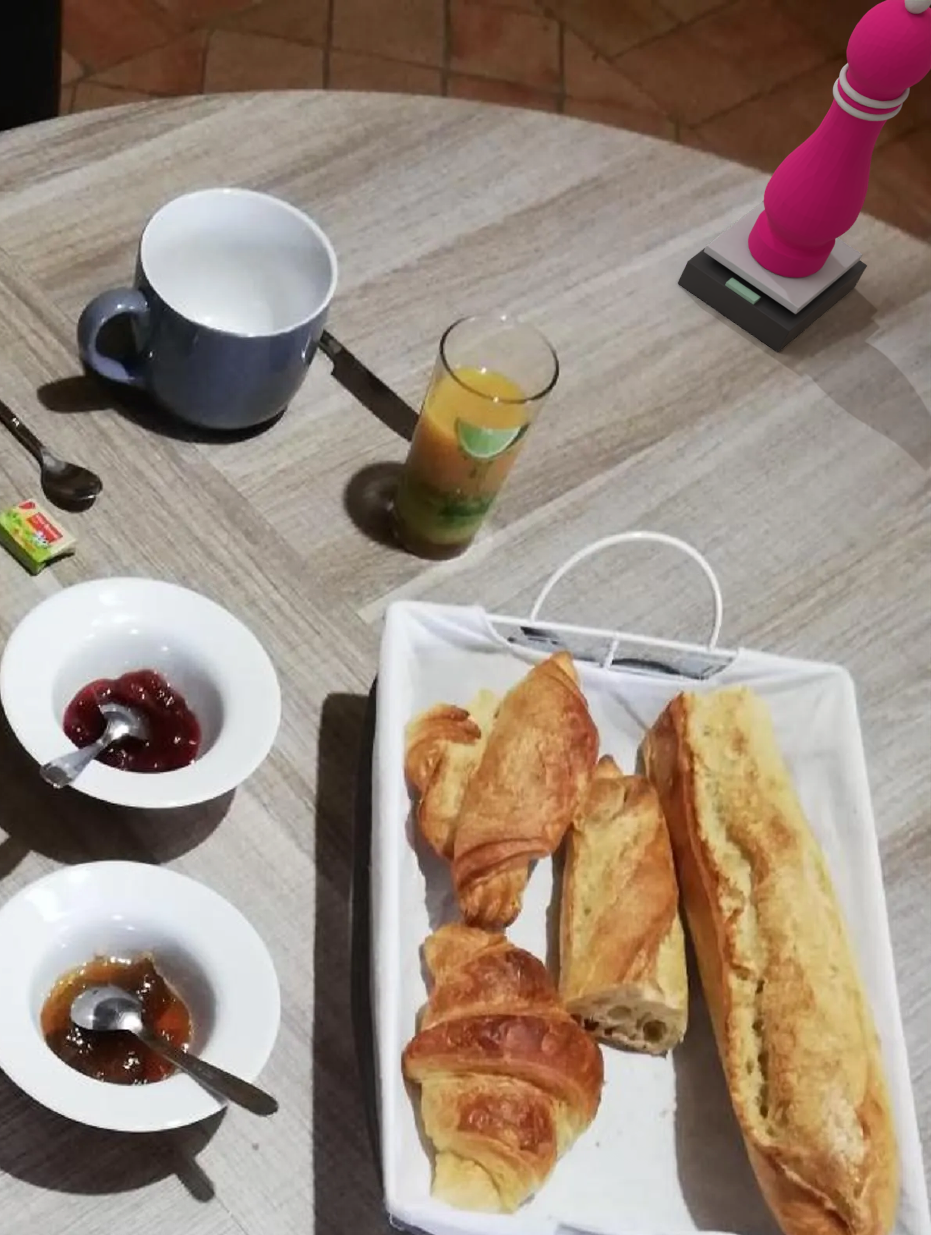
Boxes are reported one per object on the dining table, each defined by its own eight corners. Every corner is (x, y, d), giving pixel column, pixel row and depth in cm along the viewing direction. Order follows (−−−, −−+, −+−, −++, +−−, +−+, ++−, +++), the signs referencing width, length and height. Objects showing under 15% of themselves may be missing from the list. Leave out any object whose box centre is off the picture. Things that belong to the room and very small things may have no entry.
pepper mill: (778, 205, 131) (914, -64, 113) (849, 256, 130) (1000, -9, 111) (722, 244, 129) (852, -24, 111) (794, 296, 127) (938, 33, 109)
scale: (854, 286, 133) (875, 251, 130) (777, 352, 129) (797, 317, 127) (755, 220, 135) (773, 184, 132) (677, 283, 132) (693, 247, 129)
